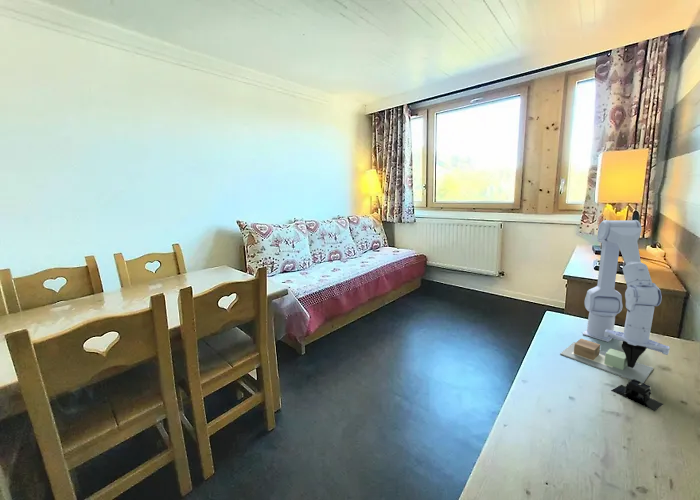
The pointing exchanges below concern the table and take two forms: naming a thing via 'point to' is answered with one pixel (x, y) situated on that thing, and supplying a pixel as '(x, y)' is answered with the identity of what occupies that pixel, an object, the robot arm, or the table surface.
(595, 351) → the walnut block
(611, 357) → the green block
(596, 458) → the table surface
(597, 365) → the plate
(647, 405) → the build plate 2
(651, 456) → the table surface
